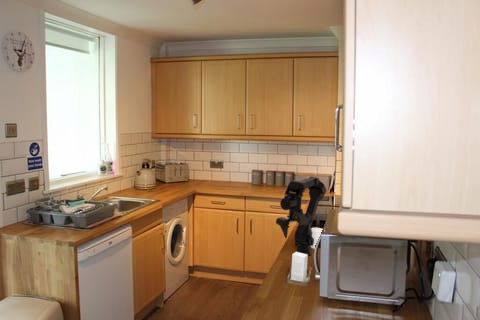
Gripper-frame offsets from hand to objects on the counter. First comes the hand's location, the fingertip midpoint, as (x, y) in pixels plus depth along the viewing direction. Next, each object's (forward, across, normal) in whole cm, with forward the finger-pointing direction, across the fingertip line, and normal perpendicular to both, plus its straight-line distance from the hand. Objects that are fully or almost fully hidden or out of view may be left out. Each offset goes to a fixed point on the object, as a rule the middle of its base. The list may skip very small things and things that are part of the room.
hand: (293, 236), depth 212 cm
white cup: (+13, +26, +11) cm, 31 cm away
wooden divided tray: (+13, -8, -16) cm, 22 cm away
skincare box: (+13, -11, -19) cm, 25 cm away
